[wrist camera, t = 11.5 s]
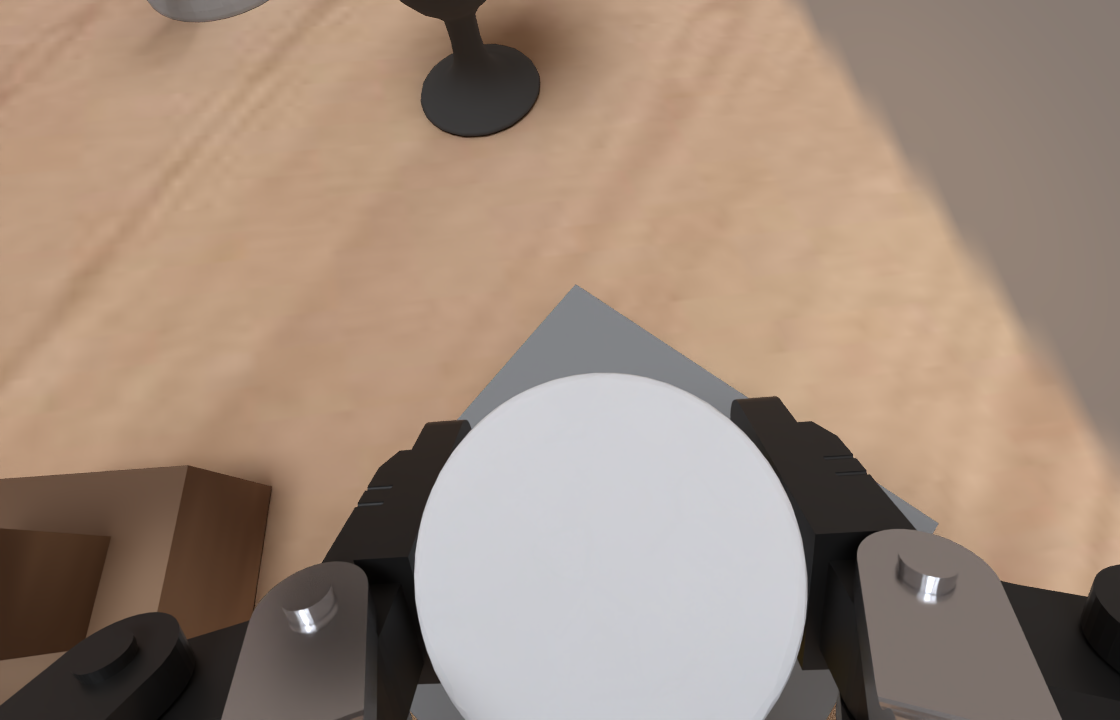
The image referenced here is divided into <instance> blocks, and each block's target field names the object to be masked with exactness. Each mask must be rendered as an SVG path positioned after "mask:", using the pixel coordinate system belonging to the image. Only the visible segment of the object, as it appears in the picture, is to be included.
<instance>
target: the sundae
mask: <svg viewBox="0 0 1120 720" xmlns="http://www.w3.org/2000/svg"><path fill="white" fill-rule="evenodd" d="M400 1H401V2H402V3H404V4H405V5H407V6H409V7H410V8H412V9H414V10H416V11H418V12H419V13H421V14H423V15H425V16H429V17H434V18H438V19H441V20H443V21H444V22H445V25H446V28H447V31H448V34H449V37H450V40H451V44H452V49H453V54H451V55H449V56H448V57H446V58H444V59H443V60H442V61H440V62H439V63H438V64H437V65H435V66H434V67H433V69H432V70H431V71H430V73H429V74H428V76H427V77H426V79H425V81H424V83H423V88H422V93H421V104H422V108H423V111H424V113H425V115H426V117H427V118H428V119H429V120H430V121H431V122H432V123H433V124H434V125H436V126H437V127H438V128H440V129H441V130H443V131H446V132H449V133H452V134H457V135H461V136H481V135H488V134H491V133H495V132H498V131H500V130H503V129H505V128H507V127H510V126H511V125H513V124H514V123H515V122H517V121H518V120H519V119H521V118H522V117H523V116H524V115H525V114H526V113H527V112H528V111H529V110H530V108H531V107H532V105H533V104H534V102H535V100H536V98H537V96H538V94H539V87H540V78H539V74H538V71H537V69H536V67H535V66H534V64H533V63H532V61H531V60H530V59H529V58H527V57H526V56H525V55H524V54H523V53H521V52H519V51H518V50H516V49H514V48H511V47H507V46H503V45H497V44H483V41H482V39H481V36H480V33H479V28H478V24H477V20H476V15H475V13H476V11H477V9H478V7H479V6H480V5H482V4H483V3H484V2H485V1H486V0H400Z"/></svg>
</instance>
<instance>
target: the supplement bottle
mask: <svg viewBox="0 0 1120 720" xmlns="http://www.w3.org/2000/svg"><path fill="white" fill-rule="evenodd" d="M414 584H415V601H416V607H417V613H418V619H419V623H420V628H421V632H422V636H423V640H424V643H425V647H426V650H427V653H428V655H429V658H430V660H431V663H432V666H433V668H434V671H435V673H436V675H437V676H438V678H439V680H440V682H441V684H442V686H443V688H444V689H445V691H446V693H447V695H448V696H449V698H450V700H451V702H452V703H453V704H454V706H455V707H456V708H457V710H458V711H459V712H460V714H461V715H462V716H463V718H464V719H465V720H765V718H766V717H767V715H768V714H769V712H770V711H771V709H772V708H773V706H774V705H775V703H776V702H777V700H778V699H779V697H780V695H781V693H782V691H783V689H784V687H785V685H786V683H787V681H788V680H789V677H790V675H791V672H792V670H793V667H794V665H795V662H796V659H797V656H798V652H799V649H800V645H801V641H802V637H803V632H804V626H805V620H806V610H807V569H806V561H805V555H804V548H803V542H802V537H801V534H800V530H799V527H798V523H797V520H796V517H795V514H794V511H793V508H792V505H791V503H790V501H789V498H788V496H787V494H786V492H785V490H784V488H783V486H782V484H781V482H780V480H779V478H778V477H777V475H776V473H775V472H774V470H773V469H772V467H771V465H770V464H769V462H768V461H767V459H766V458H765V457H764V456H763V454H762V453H761V452H760V450H759V449H758V448H757V447H756V445H755V444H754V443H753V442H752V441H751V440H750V439H749V437H748V436H747V435H746V434H745V433H744V432H743V431H742V430H741V429H740V428H739V427H738V426H737V425H735V424H734V423H733V422H732V421H731V420H730V419H729V418H727V417H726V416H725V415H724V414H722V413H721V412H720V411H718V410H717V409H716V408H714V407H713V406H711V405H710V404H709V403H707V402H705V401H703V400H702V399H700V398H698V397H696V396H694V395H692V394H690V393H688V392H686V391H684V390H682V389H680V388H677V387H675V386H673V385H671V384H668V383H665V382H661V381H658V380H654V379H651V378H647V377H642V376H637V375H631V374H623V373H588V374H579V375H572V376H568V377H564V378H559V379H555V380H551V381H548V382H546V383H543V384H540V385H538V386H535V387H533V388H530V389H528V390H526V391H524V392H522V393H520V394H518V395H516V396H514V397H512V398H511V399H509V400H507V401H506V402H504V403H503V404H501V405H500V406H498V407H497V408H495V409H494V410H493V411H492V412H490V413H489V414H488V415H487V416H486V417H485V418H483V419H482V420H481V421H480V422H479V423H478V424H477V425H476V426H475V427H474V428H473V429H472V430H471V431H470V432H469V433H468V434H467V435H466V436H465V438H464V439H463V440H462V441H461V442H460V444H459V445H458V446H457V447H456V448H455V450H454V451H453V452H452V454H451V455H450V457H449V459H448V460H447V462H446V463H445V465H444V467H443V468H442V470H441V471H440V473H439V476H438V478H437V480H436V482H435V484H434V486H433V488H432V490H431V493H430V495H429V498H428V500H427V503H426V506H425V509H424V512H423V516H422V520H421V524H420V528H419V533H418V539H417V545H416V552H415V569H414Z"/></svg>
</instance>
